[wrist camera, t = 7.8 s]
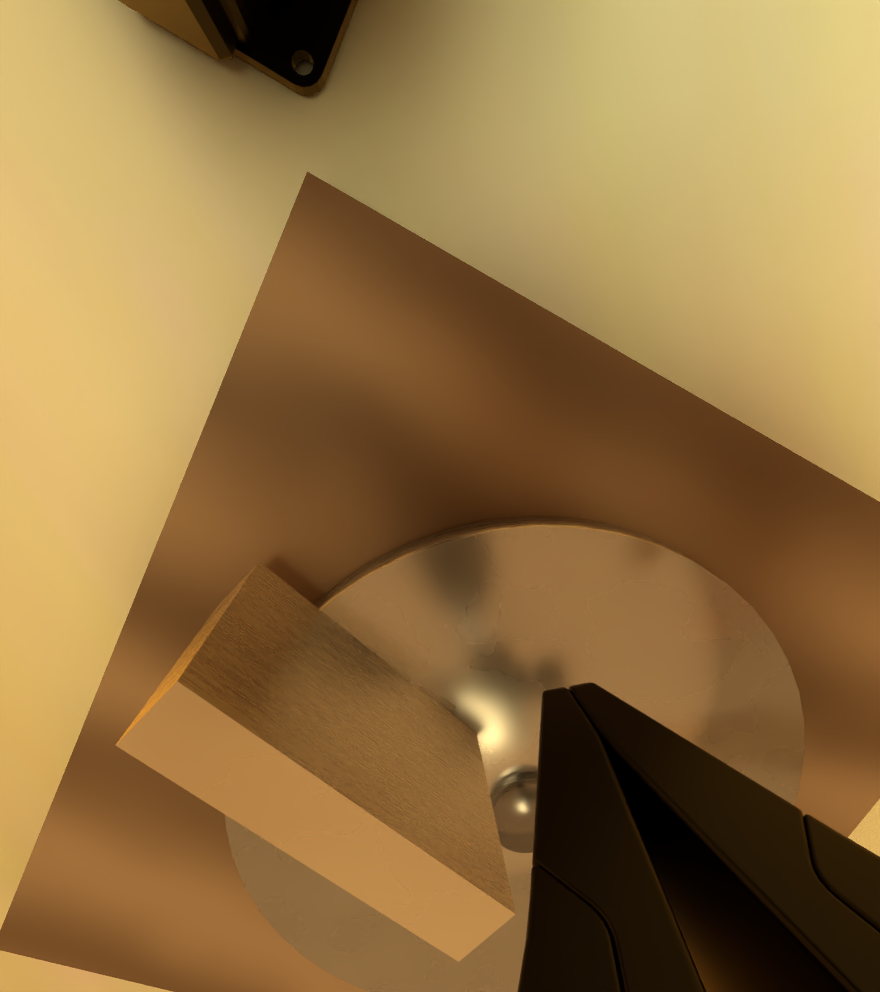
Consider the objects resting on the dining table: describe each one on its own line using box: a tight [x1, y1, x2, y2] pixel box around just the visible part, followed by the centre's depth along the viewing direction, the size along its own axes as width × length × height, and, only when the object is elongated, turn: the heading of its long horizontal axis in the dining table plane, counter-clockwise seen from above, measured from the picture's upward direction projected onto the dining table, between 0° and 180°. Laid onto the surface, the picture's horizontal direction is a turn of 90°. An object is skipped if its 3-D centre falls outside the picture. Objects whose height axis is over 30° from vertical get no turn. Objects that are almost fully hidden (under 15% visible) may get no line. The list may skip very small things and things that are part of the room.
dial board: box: [0, 172, 880, 992], centre depth 17 cm, size 26×26×2 cm
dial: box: [116, 516, 805, 992], centre depth 14 cm, size 22×18×6 cm
